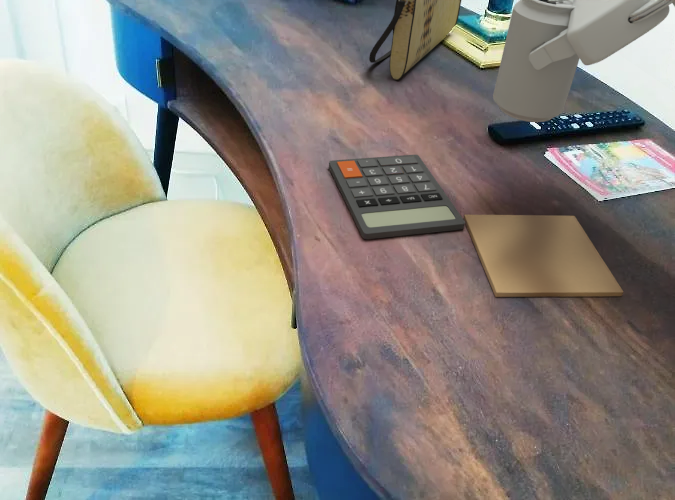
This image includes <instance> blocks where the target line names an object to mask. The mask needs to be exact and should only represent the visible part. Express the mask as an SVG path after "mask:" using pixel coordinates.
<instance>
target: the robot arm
mask: <svg viewBox="0 0 675 500" xmlns="http://www.w3.org/2000/svg"><path fill="white" fill-rule="evenodd" d="M671 4H672V5H673V7H675V0H573V3H572V6H576V7H575V8H574V9H573V10H572V11H571V13H570V19H569V25H568V28H567V29H566V30H564V31H563V32H561V33H560V35H559V36H557V37H555V38H553V39H552V40H550V41H548V42H546V43H545V42H543V43H541V44H540V45H538V46H537V47H535V48H533V49H532V50H531V51H530V54H529V61H530V63H531V64H532V66H533V67H534V69H536V70H540V69H542V68H544V67H545V66H547V65H549V64H551V63H552V62H555V61H559V60H562V59H565V58H569V57H571V56H573V55H575V54H577V55H578V57H579V58H580V59H579V61H581V63H582V64H583V65H584V66H591V65H595V64H598V63H600V62H602V61H604V60H606V59H608V58H609V57H611V56H612V55H614V54H615V53H617V52H619V51H620V50H622V49H623V48H625V47H627V46H628V45H630V44H631V43H633V42H635V41H636V40H638V39H640V38H641V37H643V36H644V35H645V34H647V33H648V32H650V31H652V30H653V29H655V28H656V27H657V26H659V25H660V24H661V23H662V22H663V21H665V19H666V18H667V17H668V16H669V13H670V5H671Z"/></svg>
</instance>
